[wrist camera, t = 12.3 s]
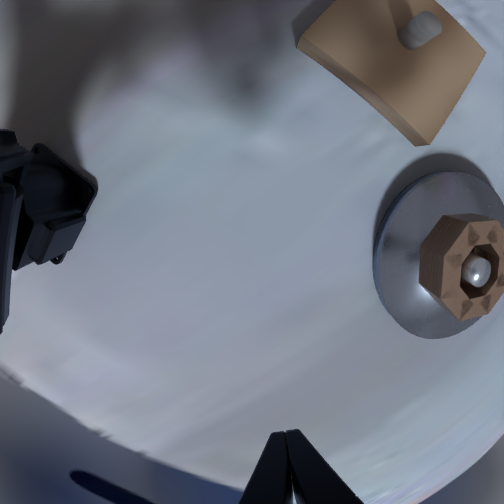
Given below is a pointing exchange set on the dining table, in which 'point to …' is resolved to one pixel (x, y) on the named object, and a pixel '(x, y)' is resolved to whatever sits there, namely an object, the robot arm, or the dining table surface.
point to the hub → (408, 248)
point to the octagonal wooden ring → (451, 258)
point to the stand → (397, 59)
